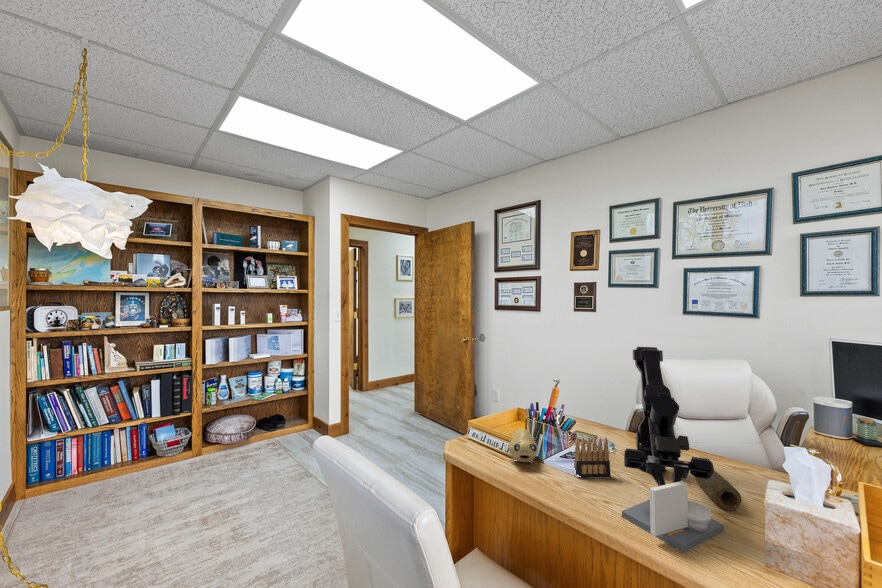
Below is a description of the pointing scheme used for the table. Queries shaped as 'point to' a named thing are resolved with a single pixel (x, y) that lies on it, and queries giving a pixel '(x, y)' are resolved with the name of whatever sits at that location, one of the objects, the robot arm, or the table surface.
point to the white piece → (674, 509)
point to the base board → (678, 538)
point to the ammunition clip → (592, 459)
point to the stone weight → (720, 491)
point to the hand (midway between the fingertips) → (671, 499)
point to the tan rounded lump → (523, 446)
